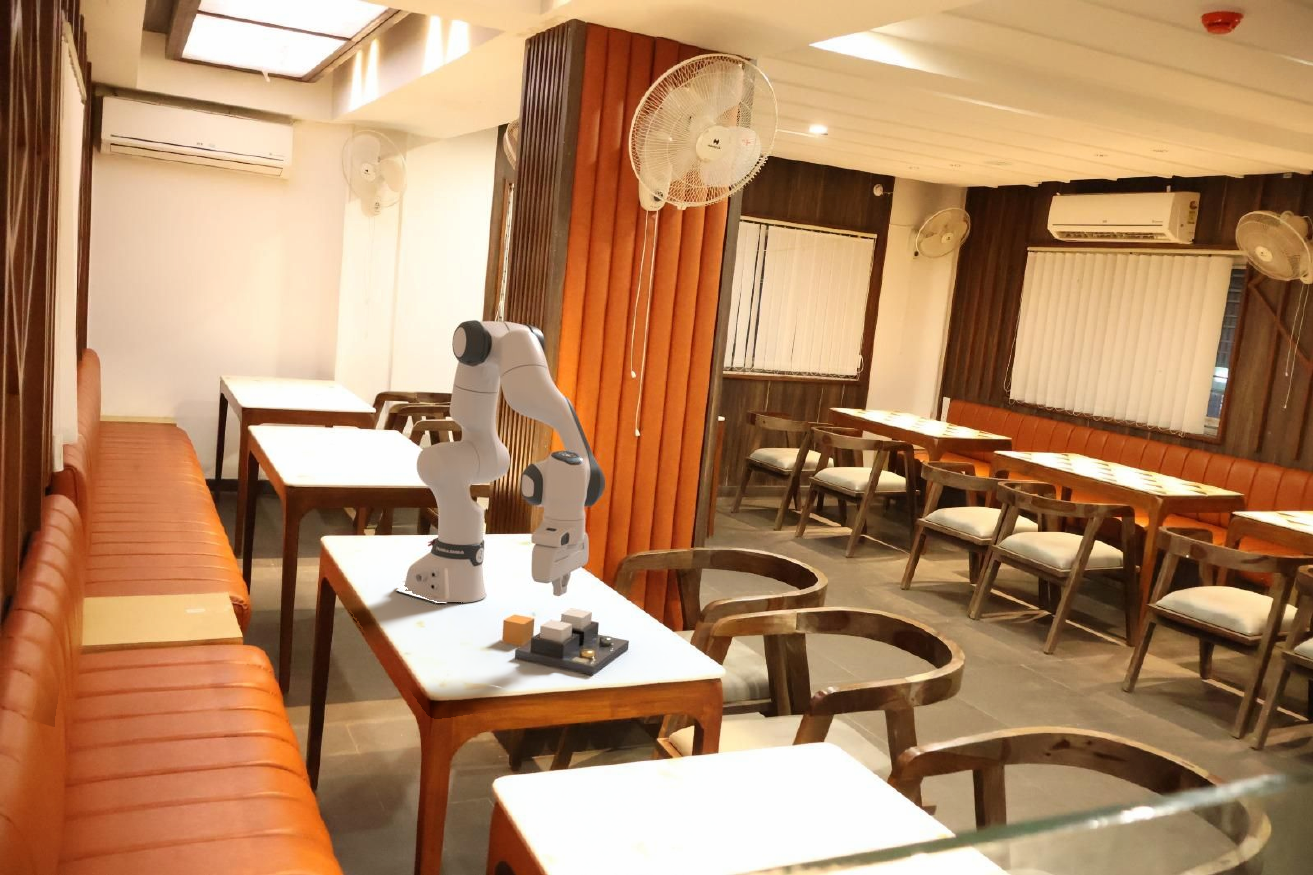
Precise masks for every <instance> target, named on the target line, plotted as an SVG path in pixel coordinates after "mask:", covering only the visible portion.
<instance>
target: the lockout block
mask: <svg viewBox="0 0 1313 875" xmlns="http://www.w3.org/2000/svg"><path fill="white" fill-rule="evenodd" d="M534 629H535V618H533V617H529V616H524V615H519V614H513V615H510V616H508V617H507V618H505V619H503V622H502V639H501V641H502V643H507V644H511V645H514V646H515V645H516V646H519V647H521V646H522V645H524V644H526V643H528V642H529V641H531V638H532V637H534V632H535V630H534Z"/></svg>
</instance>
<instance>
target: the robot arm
mask: <svg viewBox="0 0 1313 875" xmlns="http://www.w3.org/2000/svg"><path fill="white" fill-rule="evenodd" d="M544 336H545V335H544V334H543V333H542V330H540V328H538V327H536V326H533V325H530V324H527V323H525V324H521V323H518V322H511V321H504V320H500V321H494V320H493V321H492V320H487V321H485V320H484V321H482V320H480V321H479V320H476V319H474V320H466V321H463V322H460V323H459V324H458V326H457V327H456V328H455V330H454V333H453V337H452V352H453V355H454V357H455V358H456V360H457V361H458V362H457V367H456V370H455V375H454V379H453V384H452V390H451V392H452V393H451V399H450V403H449V404H450V406H449V416H450V417H451V419H452V420H453V421H454V422H455V423H456V424H457V425H458V426H459V427H460V429H461V440H457V441H444V442H438V443H435V444H433V445H432V444H431V445H429V446H426V447H424V448H423V449H422V450H421V451H420V452H419V454H418V456H417V460H416V471H417V474H418V476H419V479H420V480H421V481H422V483H423V484H424V485H426V486H427V487H428V488H429V489H430V491H431V492H432V493H433V496H434V497H435V500H436V504H437V505H436V506H437V512H438V514H437V516H438V521H437V524H438V526H437V528H438V529H437V537H436V538H434V539H432V540H430V541H427V543H428V544H427V547H431V550H430V552H428V553H427V554H426V555H424V556H422V557H421V558H419V559H417V560H416V561H414V563H412V564H411V565H410V566H409V568H408V570H407V572H406V577H405V580H404V581H403V582H405V585H404V586H405V587H407V588H408V590H407V589H406V590H405V591H412V593H413V594H416V595H420V596H422V597H425V598H427V599H429V600H434V601H437V602H461V603H460V604H462V602H463V604H465V603H474V602H477V601H480V600H483V599H485V598H486V597H487V592H486V591H487V590H486V587H485V581H484V572H483V571H484V570H483V562H484V556H485V540H484V526H485V524H484V523H485V511H484V508H483V507H482V506H481V505H480V503H478V502H477V501H475V500H474V499H473V498H472V495H471V491H470V487H471V486H472V485H477V484H478V485H479V484H489V483H490V482H494V481H497V480H499V479H501V478H503V477H504V476H506V475H507V473H508V472H509V469H510V466H511V457H510V453H509V451H508V448H507V446H506V445H505V444H504V443H503V442H502V441H501V439H500V437H499V434H498V431H497V425H496V423H497V422H496V417H497V411H498V410H497V409H498V401H499V394H500V388H501V390H502V394H503V396H504V399H505V401H506V403H507V405H508V406H509V407H510V408H511V409H512V410H513V411H514V412H516V413H518V414H519V415H521V416H523V417H525V418H526V417H527V418H528V419H529V418H530V419H533V420H536V421H538V422H541V423H543V424H545V425H547V426H549V427H551V428H552V429H553V430H554V431H556V433H557V434H558V436H559V438H560V440H561V442H562V445H563V447H564V450H557V451H553V452H551V453H550V454H549V455H548V456H547V458H545V460H541V461H538V462H533V463H529V465H528V466H527V467H525V469H524V470H523V472H522V474H521V475H520V484H519V485H520V495H521V496H522V498H523V499H524V500H525V501H526V502H527V503H528V504H529V505H530V506H533V507H541V508H542V507H543V508H544V510H543V513H542V521H541V522H540V524H539V526H537V528H536V529H535V530H534V531H533V532H532V534H531V539H530V540H531V541H530V542H531V543H532V544H534V546H533V547H532V552H531V578H532V580H533V582H536V583H541V584H550V583H551V584H552V594H553V595H554V596H555V597H561V596H563V595H564V594H566V593H567V591H568V585H569V582H570V579H571V573H572V572H574V571H575V570H578V569H580V568H582V567H584V566H586V565H587V564H588V561H589V552H590V551H589V550H590V548H589V544H590V543H589V536H588V535H589V534H588V533H587V532H586V527H585V526H586V512H585V508H589V507H592V506H594V505H595V504H596V503H598V501H599V500H600V498H602V496H603V494H604V492H605V490H606V479H605V475H604V473H603V471H602V468H601V467H600V464H598V462H597V459H596V458H595V456H594V454H593V452H592V450H591V447H590V444H589V442H588V439H587V436H586V435H585V432H584V429H583V426H582V424H581V422H580V419H579V417H578V413H576V409H575V408H574V405H573V404H572V402H571V400H570V399H569V398H568V397H566V396H565V395H564V394H563V393H562V392H561V391H560V390H559V389H558V387H557V386H556V384H555V382H554V381H553V378H552V376H551V373H550V368H549V364H548V361H547V357H546V355H545V353H546V339H545V337H544ZM553 595H552V596H553Z"/></svg>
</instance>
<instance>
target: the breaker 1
mask: <svg viewBox="0 0 1313 875" xmlns="http://www.w3.org/2000/svg"><path fill="white" fill-rule="evenodd" d="M560 621H561V620H555V619H554V620H553V619H550V620H548V621H547V622H545V623H543V624H541V625H540V626H539V627H540V628H539V633H540V638H542V639H547V640H552V641H557V642H563V641H565V640H567V639H568V638H570V637H571V635H572V624H570V623H565V622H560Z"/></svg>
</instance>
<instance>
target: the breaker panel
mask: <svg viewBox="0 0 1313 875" xmlns="http://www.w3.org/2000/svg"><path fill="white" fill-rule="evenodd" d="M559 621H560V622H561V620H559ZM599 625H600V624H599V622H597V621H592V620H591V624H590V625H589V626H587V627H586V628H584V629H582V630H581V629H576V628H572V635H571V637H570V638H568V639H567V640H565V641H563V642H557V641H552V640H547V639H542V638H540V632H538V633H537V634H535V635H533V637H532V638H531V641H529V642H528V643H526V644H524V645H522V646H519V647H517V648H516V649H515V651H514V659H515V660H518V661H523V662H528V663H533V664H538V665H542V666H544V667H545V666H546V667H551V668H554V669H559V670H565V671H569V672H573V673H577V674H583V675H587V676H595V675H596V674H597V673H598V672H600V671H601V670H602V669H604V668H605V667H606V666H608V665H609V664H610V663H612V662H613V661H615V660H617V658H619V657H620V656H622V655H623V654H624V653H626V652H627V651H628V650H629V646H630V645H629V642H630V641H629V640H627V639H621V638H617V637H612V636H609V635H602V634H599V627H600V626H599Z"/></svg>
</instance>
